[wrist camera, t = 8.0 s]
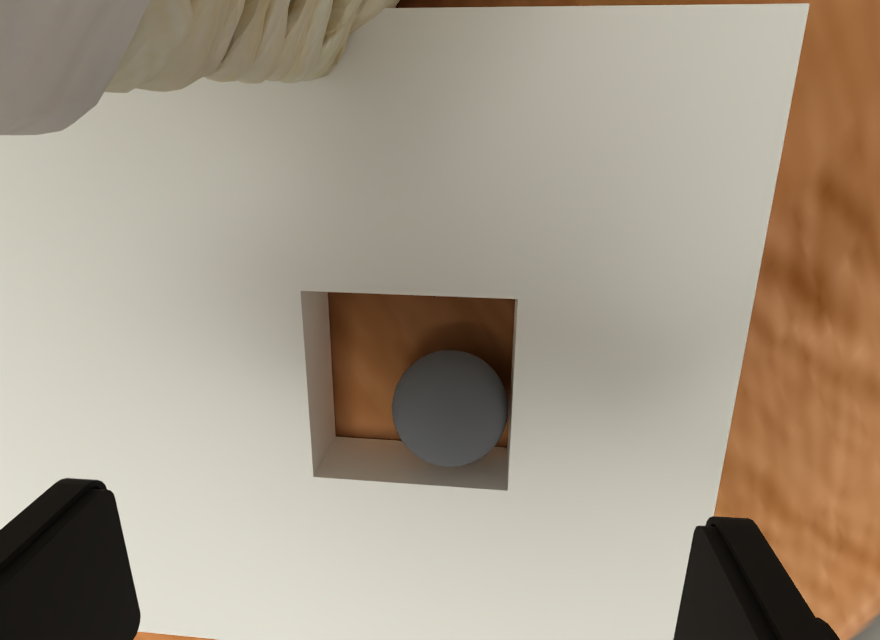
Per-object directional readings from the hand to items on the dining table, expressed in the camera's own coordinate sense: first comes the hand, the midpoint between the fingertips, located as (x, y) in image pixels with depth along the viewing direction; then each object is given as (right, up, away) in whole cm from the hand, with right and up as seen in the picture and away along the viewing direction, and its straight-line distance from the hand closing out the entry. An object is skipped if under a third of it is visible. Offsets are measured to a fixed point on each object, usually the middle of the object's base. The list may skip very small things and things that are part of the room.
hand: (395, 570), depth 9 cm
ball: (+1, +1, +8) cm, 8 cm away
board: (-7, +3, +11) cm, 13 cm away
